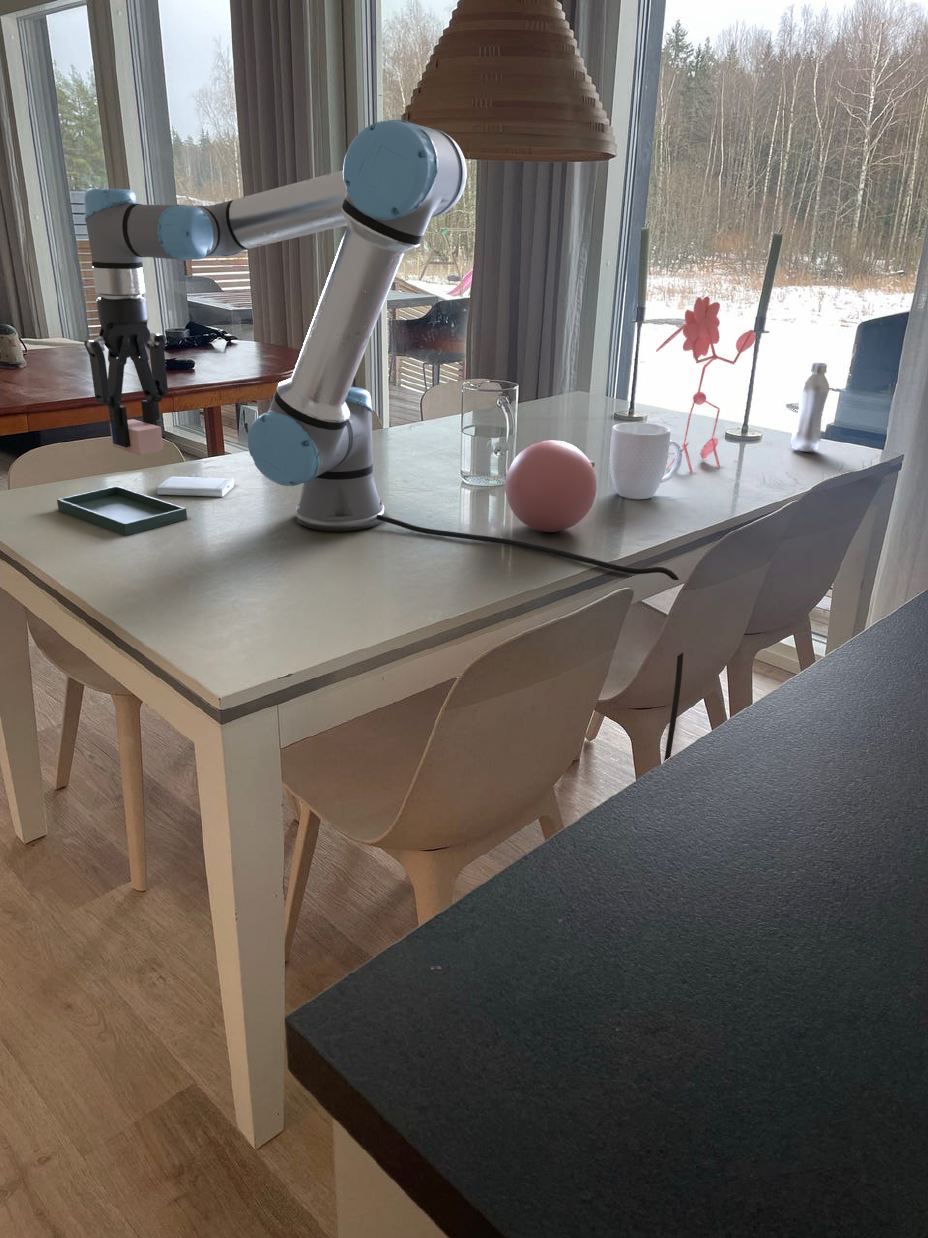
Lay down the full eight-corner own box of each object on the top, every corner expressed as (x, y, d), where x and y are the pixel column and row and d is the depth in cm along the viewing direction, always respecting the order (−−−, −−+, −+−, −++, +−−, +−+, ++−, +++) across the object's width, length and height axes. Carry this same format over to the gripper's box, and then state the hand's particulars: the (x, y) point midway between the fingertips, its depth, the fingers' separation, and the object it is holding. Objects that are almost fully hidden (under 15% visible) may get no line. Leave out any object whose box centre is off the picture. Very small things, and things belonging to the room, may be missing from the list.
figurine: (746, 463, 206) (771, 297, 192) (668, 479, 192) (689, 301, 178) (692, 449, 218) (712, 291, 203) (615, 464, 203) (630, 295, 189)
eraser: (163, 450, 156) (161, 426, 154) (139, 455, 153) (136, 431, 151) (136, 441, 160) (133, 418, 159) (111, 446, 157) (108, 422, 155)
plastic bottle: (821, 450, 219) (837, 363, 211) (814, 455, 214) (830, 366, 206) (793, 446, 222) (808, 360, 214) (786, 451, 217) (800, 364, 209)
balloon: (626, 525, 164) (635, 438, 158) (553, 550, 151) (559, 457, 144) (559, 505, 174) (564, 423, 167) (485, 528, 161) (488, 440, 154)
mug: (661, 483, 189) (669, 419, 184) (691, 498, 180) (700, 431, 174) (596, 489, 184) (602, 423, 179) (623, 505, 175) (630, 436, 170)
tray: (187, 519, 162) (186, 508, 161) (126, 535, 153) (125, 524, 152) (118, 496, 174) (117, 485, 173) (58, 510, 165) (56, 499, 164)
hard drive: (156, 487, 174) (221, 489, 173) (171, 475, 181) (233, 477, 181) (157, 495, 175) (222, 497, 174) (172, 483, 182) (234, 485, 182)
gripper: (155, 291, 155) (169, 430, 164) (55, 297, 142) (77, 447, 152) (183, 295, 151) (195, 437, 160) (82, 301, 138) (102, 455, 147)
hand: (138, 442), depth 156 cm, fingers closed on eraser, 5 cm apart
